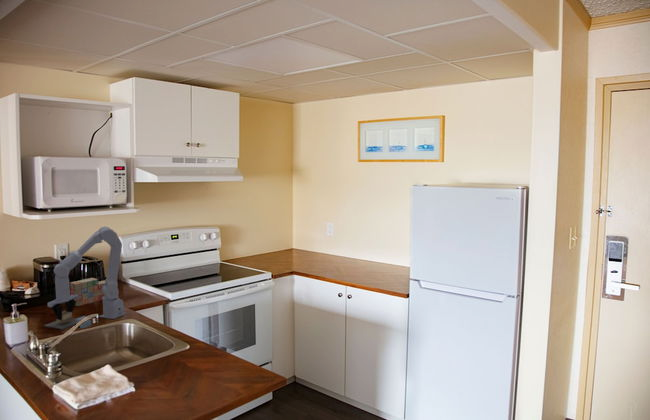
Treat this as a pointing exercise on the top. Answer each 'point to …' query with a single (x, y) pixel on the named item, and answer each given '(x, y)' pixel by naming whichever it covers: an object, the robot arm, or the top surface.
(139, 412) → the top surface
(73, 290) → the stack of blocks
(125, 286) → the top surface
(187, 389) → the top surface
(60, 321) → the maple block
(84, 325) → the blue block
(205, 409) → the top surface
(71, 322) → the baseplate
